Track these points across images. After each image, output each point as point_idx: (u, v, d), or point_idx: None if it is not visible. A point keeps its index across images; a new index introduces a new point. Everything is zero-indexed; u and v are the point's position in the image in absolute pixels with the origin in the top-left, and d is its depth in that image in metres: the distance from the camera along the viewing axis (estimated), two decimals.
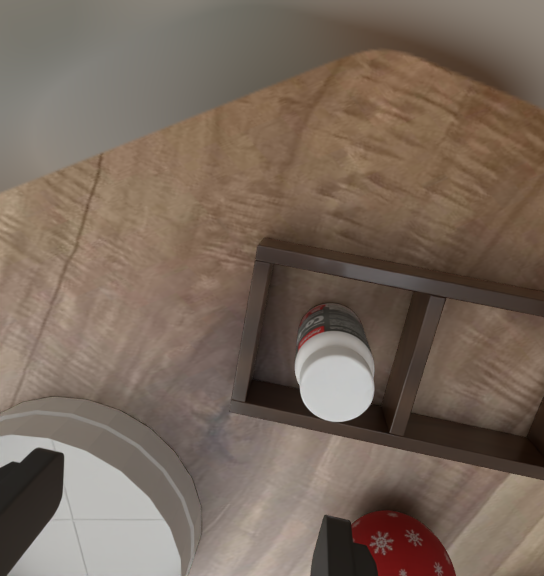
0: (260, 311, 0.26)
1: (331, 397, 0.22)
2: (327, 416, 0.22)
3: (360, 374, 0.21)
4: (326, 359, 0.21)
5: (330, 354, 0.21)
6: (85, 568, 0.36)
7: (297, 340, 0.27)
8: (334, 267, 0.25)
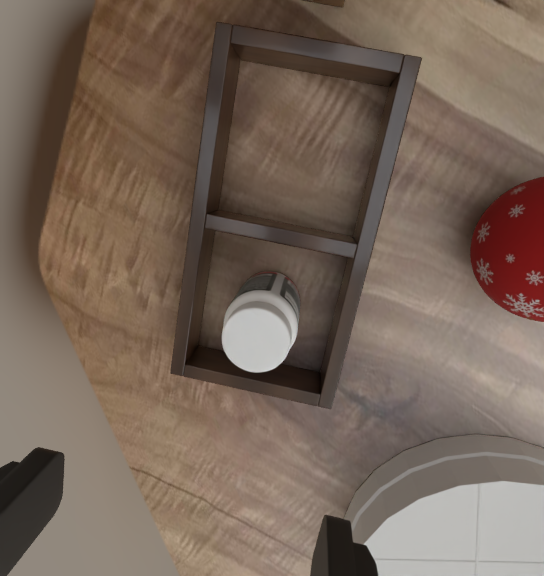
0: (228, 375, 0.29)
1: (263, 346, 0.23)
2: (284, 349, 0.23)
3: (238, 320, 0.23)
4: (225, 350, 0.23)
5: (222, 345, 0.23)
6: None
7: None
8: (184, 312, 0.28)
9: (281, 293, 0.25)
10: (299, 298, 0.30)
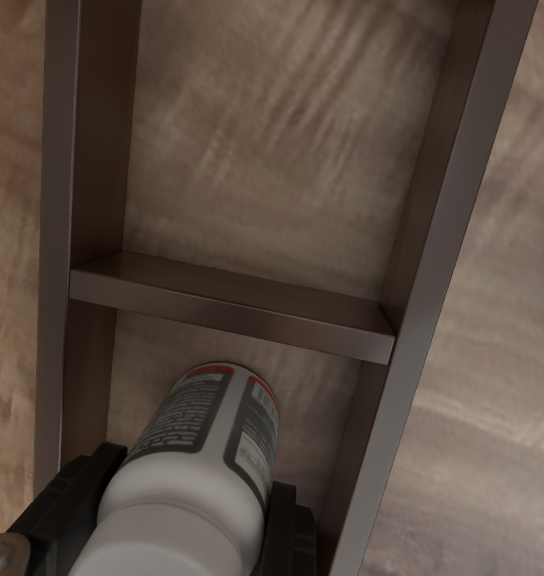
0: None
1: None
2: None
3: (99, 571, 0.09)
4: None
5: None
6: None
7: None
8: (45, 458, 0.14)
9: (228, 450, 0.11)
10: (276, 417, 0.16)
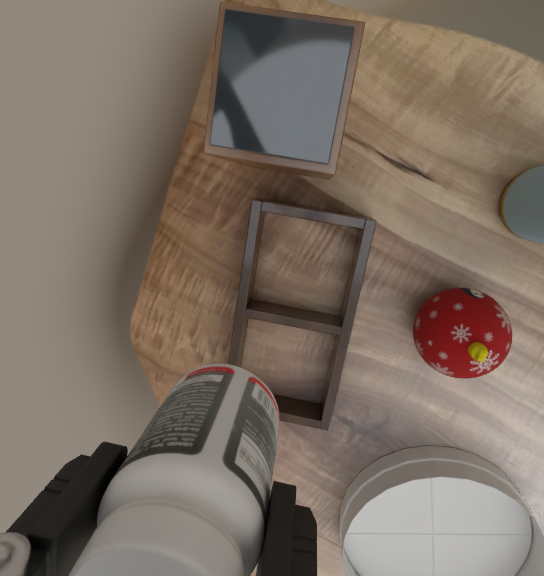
0: None
1: None
2: None
3: (99, 572, 0.09)
4: None
5: None
6: (480, 534, 0.47)
7: None
8: None
9: (228, 451, 0.11)
10: (276, 418, 0.16)
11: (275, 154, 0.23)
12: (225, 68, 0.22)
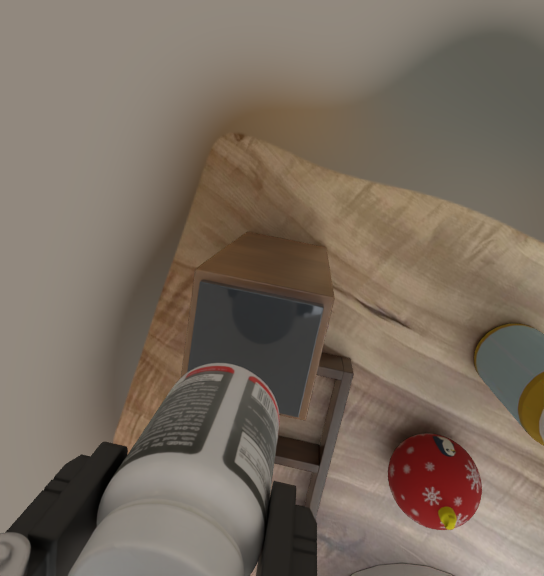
0: None
1: None
2: None
3: (99, 571, 0.09)
4: None
5: None
6: None
7: None
8: None
9: (228, 450, 0.11)
10: (276, 417, 0.16)
11: None
12: (199, 330, 0.23)
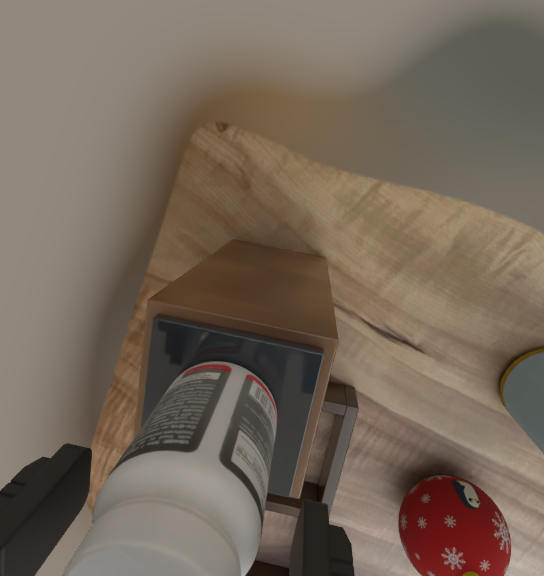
0: None
1: None
2: None
3: (94, 570, 0.09)
4: None
5: None
6: None
7: None
8: None
9: (224, 449, 0.11)
10: (274, 416, 0.15)
11: None
12: (154, 383, 0.17)
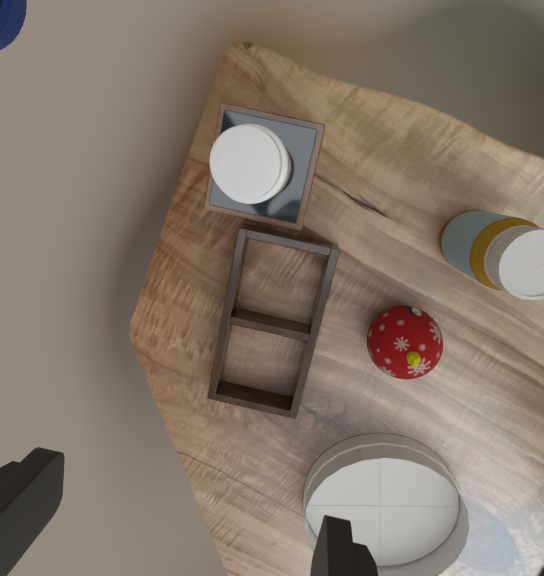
0: (239, 399, 0.53)
1: (252, 168, 0.22)
2: (273, 172, 0.22)
3: (227, 139, 0.22)
4: (214, 174, 0.23)
5: None
6: (418, 506, 0.57)
7: None
8: (216, 366, 0.52)
9: None
10: None
11: (257, 214, 0.31)
12: None
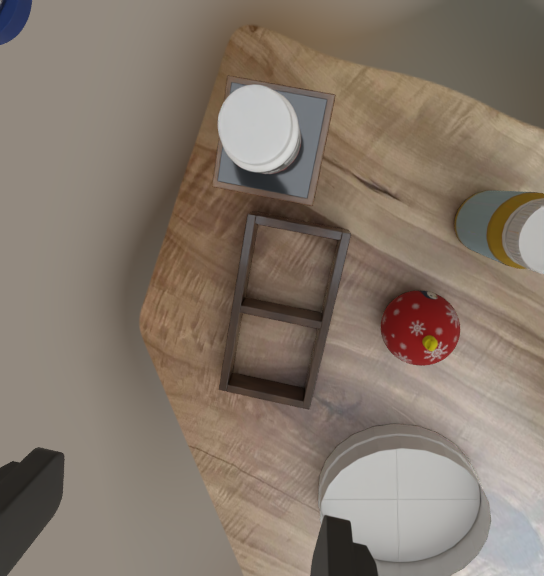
0: (251, 390, 0.52)
1: (262, 130, 0.22)
2: (284, 133, 0.21)
3: (235, 100, 0.21)
4: (222, 138, 0.22)
5: None
6: (437, 499, 0.56)
7: None
8: (227, 356, 0.51)
9: None
10: None
11: (267, 190, 0.30)
12: None
